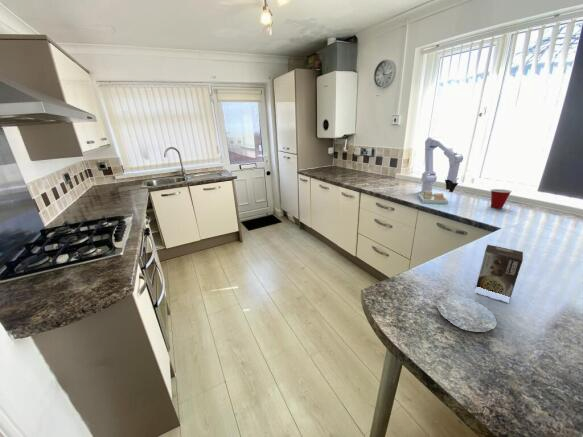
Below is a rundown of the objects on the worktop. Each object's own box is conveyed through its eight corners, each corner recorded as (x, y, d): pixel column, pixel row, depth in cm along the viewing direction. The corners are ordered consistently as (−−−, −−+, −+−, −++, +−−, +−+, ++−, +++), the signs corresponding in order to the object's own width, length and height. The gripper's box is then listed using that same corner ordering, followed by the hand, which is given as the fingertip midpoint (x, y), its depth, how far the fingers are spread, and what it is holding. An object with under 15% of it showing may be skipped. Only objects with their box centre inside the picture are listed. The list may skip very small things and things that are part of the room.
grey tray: (417, 196, 193) (418, 193, 192) (440, 197, 189) (441, 194, 188) (422, 202, 177) (423, 199, 176) (447, 203, 173) (448, 200, 172)
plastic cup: (499, 204, 167) (504, 187, 163) (510, 209, 157) (516, 191, 153) (482, 204, 168) (486, 187, 164) (492, 209, 158) (497, 192, 154)
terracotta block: (433, 199, 182) (435, 193, 180) (440, 199, 181) (441, 193, 179) (435, 201, 178) (436, 194, 176) (442, 201, 177) (443, 194, 175)
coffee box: (509, 294, 81) (524, 251, 75) (508, 304, 77) (524, 260, 71) (476, 284, 87) (487, 243, 81) (473, 292, 82) (485, 250, 77)
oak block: (423, 197, 189) (424, 190, 187) (429, 197, 188) (430, 191, 186) (424, 198, 185) (425, 192, 183) (431, 198, 184) (432, 192, 182)
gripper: (463, 174, 165) (459, 193, 169) (456, 170, 178) (452, 188, 182) (451, 173, 166) (447, 193, 171) (445, 170, 179) (441, 188, 184)
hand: (449, 190), depth 177 cm, fingers open, 7 cm apart
